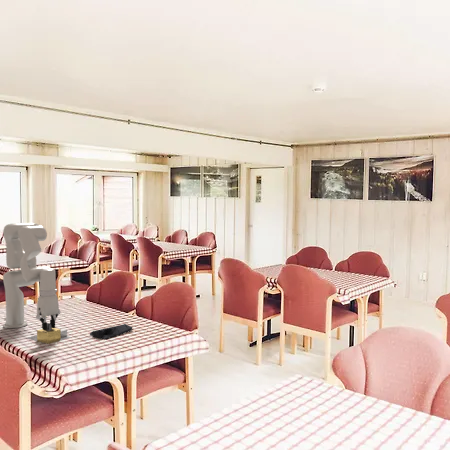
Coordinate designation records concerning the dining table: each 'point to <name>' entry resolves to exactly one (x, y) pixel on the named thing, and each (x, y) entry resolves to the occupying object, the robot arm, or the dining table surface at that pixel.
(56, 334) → the square hole fixture
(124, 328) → the dark slate chunk
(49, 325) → the grey metal peg
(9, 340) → the dining table surface
